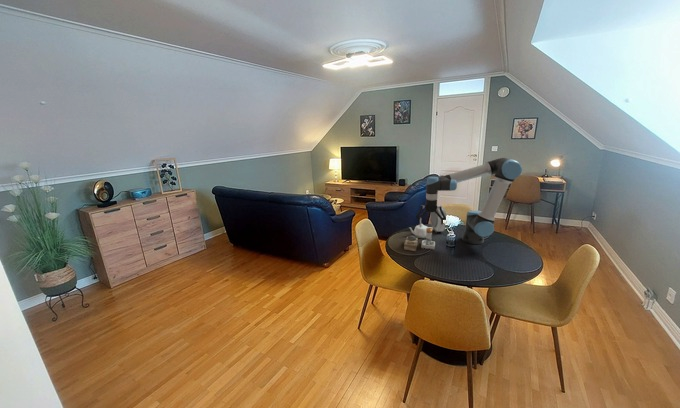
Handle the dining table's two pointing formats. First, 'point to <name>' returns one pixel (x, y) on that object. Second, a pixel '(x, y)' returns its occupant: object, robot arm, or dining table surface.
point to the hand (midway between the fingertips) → (430, 227)
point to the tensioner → (411, 243)
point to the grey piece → (437, 221)
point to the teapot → (420, 231)
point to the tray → (428, 245)
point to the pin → (429, 236)
